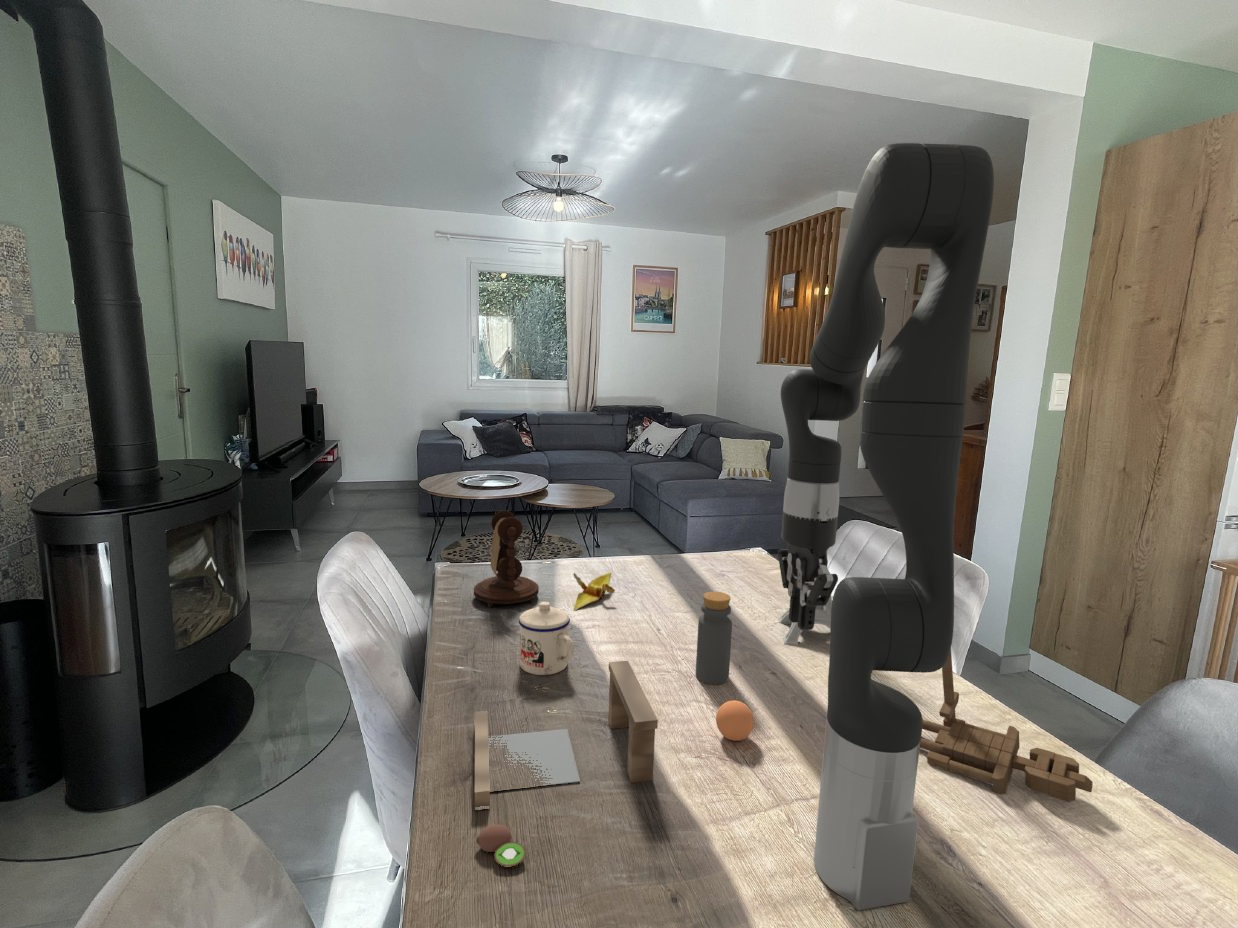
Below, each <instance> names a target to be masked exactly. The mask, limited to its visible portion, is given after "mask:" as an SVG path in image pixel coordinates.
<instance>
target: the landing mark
mask: <svg viewBox="0 0 1238 928" xmlns="http://www.w3.org/2000/svg"><path fill="white" fill-rule="evenodd" d="M494 736H495V737H496V736H497V737H496V739H495V738H492V737H494ZM502 736H503V737H502ZM488 737H490V735H488ZM498 737H502V738H498ZM493 739H495V740H499V739H501V741H500V744H499V745H500V746H502V745H507V749H509V750H508V751H509V752H510V753H509V754H511V755H512V754H513V755H512V756H513V757H514V758H507V759H508V760H510V761H511V759H512V760H514V759H516V760H518V761H519V759H520V760H522V759H525V760H527V761H519V762H521V763H525V762H526V763H528V761H529V760H531V761H529V762H531V763H533V764H525V765H527V766H528V765H529V766H530V767H531V766H532V765H533V766H534V767H532V768H536V769H539V768H540V770H542V773H541V774H540V775H538V773H540V770H538V773H537V774H535V773H534V774H535V775H538V776H536V777H537V778H539V776H541V775H542V774H543V776H542V777H547V778H553V779H543V780H549V781H540V782H545V783H548V784H543V785H553V786H557V785H556V784H562V785H569V784H568V783H571V784H578V782H579V783H581V779H580V776H579V775H580V774H579V770H578V767H577V763H576V759H575V754H574V750H573V746H572V742H571V738H570V734H569V730H568V728H564V729H563V728H562V729H551V730H543V731H541V730H540V731H533V732H521V733H513V734H512V733H510V734H509V733H508V734H502V735H499V734H498V735H491V738H488V740H489V741H488V742H489V743H491V742H493V741H490V740H493ZM502 740H503V741H502ZM505 740H506V741H505ZM507 740H508V741H507ZM495 742H496V743H497V742H499V741H494V743H495ZM505 742H506V743H507V744H501V743H505ZM489 743H488V745H491V744H489ZM495 745H497V744H494V746H495ZM489 748H490V747H489ZM494 748H496V747H494ZM500 748H502V747H500ZM503 748H504V747H503ZM511 752H513V753H511ZM514 752H517V753H518V754H519V756H520V757H522V758H518V755H515V754H517V753H514ZM522 752H523V753H522ZM525 752H526V753H525ZM507 754H508V753H507ZM522 754H523V755H522ZM525 754H528V755H525ZM537 754H538V755H537ZM511 755H509V757H511ZM506 756H507V757H508V755H505V757H506ZM529 757H531V758H529ZM533 760H534V761H533ZM536 760H538V761H536ZM504 762H505V761H504ZM506 762H507V761H506ZM508 762H509V761H508ZM511 762H513V763H517V761H511ZM540 763H541V764H540ZM508 765H509V764H508ZM510 765H513V764H510ZM516 765H517V764H516ZM519 765H520V764H519ZM535 765H538V766H542V767H535ZM530 767H529V768H530ZM514 768H516V767H514ZM522 768H523V767H522ZM546 768H547V769H548V770H546ZM551 769H552V770H551ZM531 771H534V772H537V770H531ZM544 771H545V773H544ZM548 772H549V773H548ZM534 774H533V775H534ZM545 774H546V776H545ZM549 775H551V776H549ZM531 777H532V776H531ZM534 778H535V776H534ZM536 780H537V779H535V781H536ZM539 780H540V779H539ZM549 783H551V784H549ZM534 785H535V784H534ZM537 786H538V785H537Z"/></svg>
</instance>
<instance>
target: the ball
mask: <svg viewBox="0 0 1238 928" xmlns="http://www.w3.org/2000/svg"><path fill="white" fill-rule="evenodd" d="M715 723H716V727H717V730H718V731H719V733H720V734H721V735H722V736H723V737H725V738H726V739H727V740H730V741H734V742H735V741H736V742H737V741H742V740H744V739H746V738H748V737H749V736H750V735H751V733H752V731H753V729H754V724H755V720H754V715H753V712H752V710H751V709H750V707H748V705H746V704H745V703H743V702H742V701H739V700H734V699H733V700H727V701H726V702H724V703H723V704H721V706H719V708H718V710H717V711H716V716H715Z"/></svg>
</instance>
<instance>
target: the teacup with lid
mask: <svg viewBox="0 0 1238 928" xmlns="http://www.w3.org/2000/svg"><path fill="white" fill-rule="evenodd" d="M570 623H571V619H570V616H569V614H568V613H567V612H566V611H564V610H563V609H561V608H560V609H559V608H556V607H553V606H551V603H550V602H548V601H541V602H540V603H539V604H538V606H536V607H535V608H531V609H528V610H525V611H524V612H523V613H521V615H520V616H519V618H518V624H519V666H520V669H522V670H523V671H524V672H526V673H528V674H532V675H535V676H548V675H554V674H557V673H560V672H561V671H563V670H564V669H565V668H567V666H568V663H569V662H570V661H571V660H572V659H573V657H574V655H575V644H574V642H573V640H572V639H571V638H570V636H569V625H570Z"/></svg>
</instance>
